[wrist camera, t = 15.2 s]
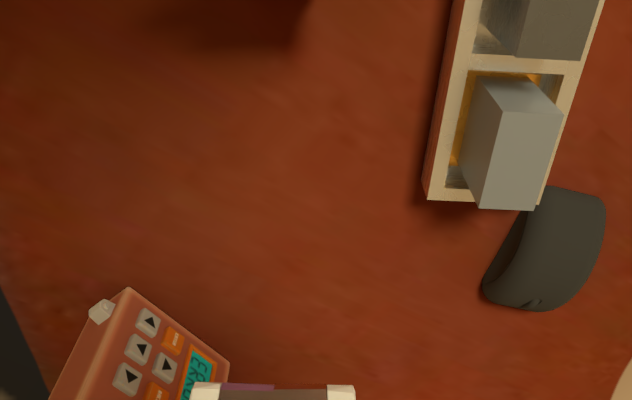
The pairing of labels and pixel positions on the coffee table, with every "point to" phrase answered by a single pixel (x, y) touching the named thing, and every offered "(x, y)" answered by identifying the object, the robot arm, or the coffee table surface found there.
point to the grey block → (508, 142)
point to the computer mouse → (547, 252)
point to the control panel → (136, 355)
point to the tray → (503, 71)
